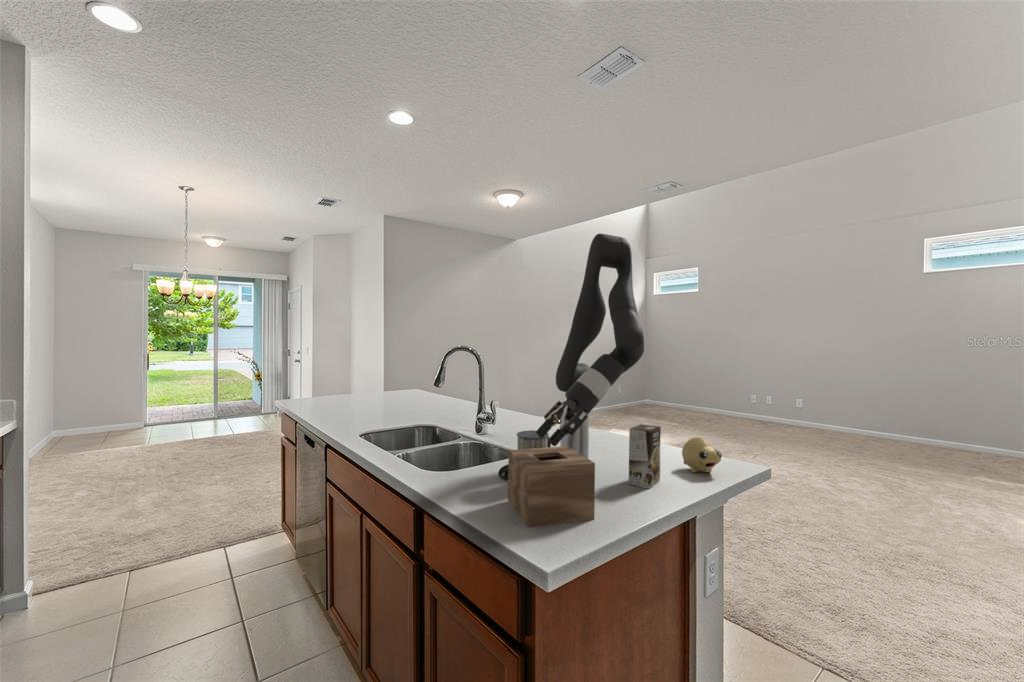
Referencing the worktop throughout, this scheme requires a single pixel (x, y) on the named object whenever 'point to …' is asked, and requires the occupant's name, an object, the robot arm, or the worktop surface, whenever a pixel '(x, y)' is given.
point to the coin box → (551, 485)
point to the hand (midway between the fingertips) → (544, 439)
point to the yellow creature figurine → (700, 455)
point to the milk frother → (527, 446)
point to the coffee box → (644, 455)
